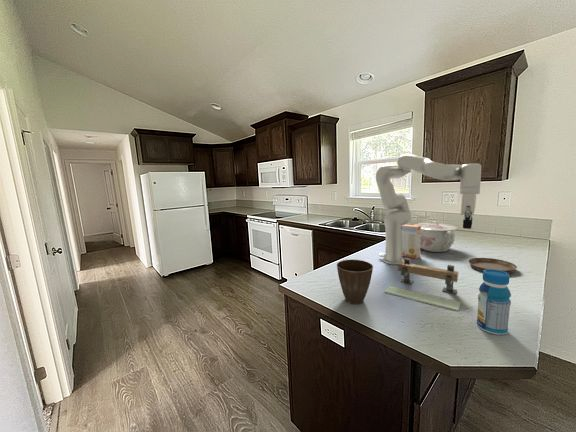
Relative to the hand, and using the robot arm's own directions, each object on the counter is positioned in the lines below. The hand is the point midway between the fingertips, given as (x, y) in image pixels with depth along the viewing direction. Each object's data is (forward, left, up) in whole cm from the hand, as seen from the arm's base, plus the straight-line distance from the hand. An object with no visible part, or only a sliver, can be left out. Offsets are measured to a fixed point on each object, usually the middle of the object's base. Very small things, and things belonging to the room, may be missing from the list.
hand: (467, 226), depth 117 cm
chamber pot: (-22, +52, -28) cm, 63 cm away
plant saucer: (+10, +28, -28) cm, 41 cm away
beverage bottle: (+11, -40, -28) cm, 50 cm away
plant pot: (-35, -48, -28) cm, 65 cm away
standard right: (-4, -18, -27) cm, 33 cm away
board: (-13, -30, -28) cm, 43 cm away
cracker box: (-33, +28, -28) cm, 52 cm away
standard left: (-22, -18, -27) cm, 40 cm away
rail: (-13, -20, -20) cm, 31 cm away
